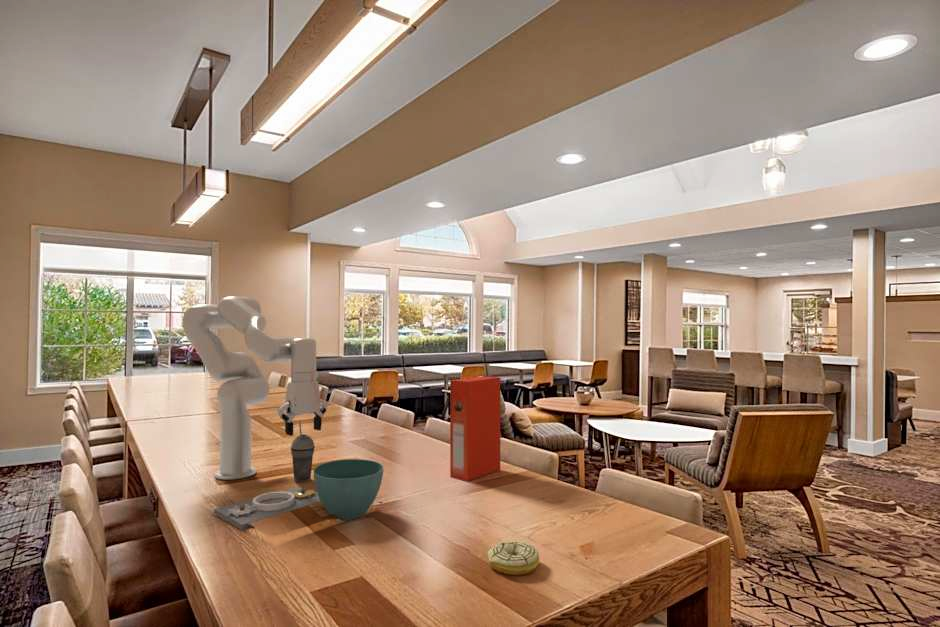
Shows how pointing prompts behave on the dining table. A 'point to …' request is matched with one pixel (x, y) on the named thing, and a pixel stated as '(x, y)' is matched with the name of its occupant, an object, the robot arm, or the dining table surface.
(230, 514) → the gear
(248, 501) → the gear board
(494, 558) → the decorated donut
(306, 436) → the beverage cup
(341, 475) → the plant pot
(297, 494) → the gear
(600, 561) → the dining table surface
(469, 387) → the file binder
